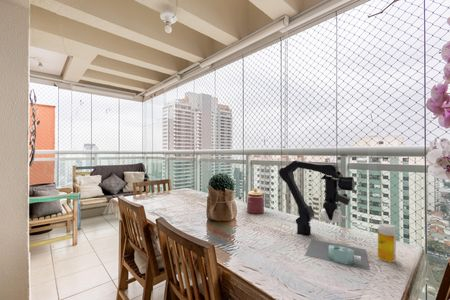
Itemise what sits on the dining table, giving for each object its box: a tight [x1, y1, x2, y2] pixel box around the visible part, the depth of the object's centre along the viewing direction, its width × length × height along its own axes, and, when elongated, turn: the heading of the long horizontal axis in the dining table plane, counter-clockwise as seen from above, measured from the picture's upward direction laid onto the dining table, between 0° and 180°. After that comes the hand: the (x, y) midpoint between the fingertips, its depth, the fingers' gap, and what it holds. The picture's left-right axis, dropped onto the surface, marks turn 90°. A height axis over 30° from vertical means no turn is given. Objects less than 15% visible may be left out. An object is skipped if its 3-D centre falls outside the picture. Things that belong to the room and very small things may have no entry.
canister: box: [246, 188, 265, 215], centre depth 165 cm, size 13×13×18 cm
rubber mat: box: [304, 239, 371, 271], centre depth 99 cm, size 24×20×1 cm
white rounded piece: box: [320, 208, 348, 224], centre depth 112 cm, size 12×4×5 cm, turn 61°
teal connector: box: [329, 245, 361, 266], centre depth 92 cm, size 12×4×5 cm, turn 61°
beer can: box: [377, 222, 397, 263], centre depth 94 cm, size 6×6×15 cm
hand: (331, 218), depth 113 cm, fingers closed on white rounded piece, 4 cm apart
